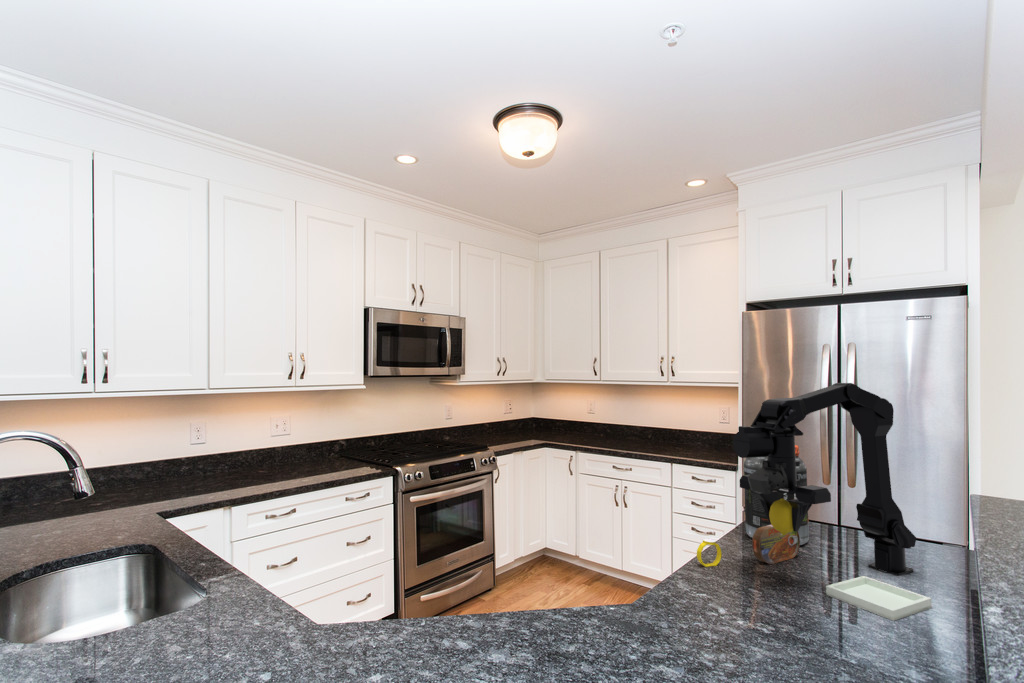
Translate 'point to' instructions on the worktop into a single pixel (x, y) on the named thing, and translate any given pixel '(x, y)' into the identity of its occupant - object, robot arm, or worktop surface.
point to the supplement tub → (754, 507)
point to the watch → (700, 548)
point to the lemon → (781, 516)
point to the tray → (879, 597)
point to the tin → (774, 545)
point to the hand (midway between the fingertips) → (783, 527)
